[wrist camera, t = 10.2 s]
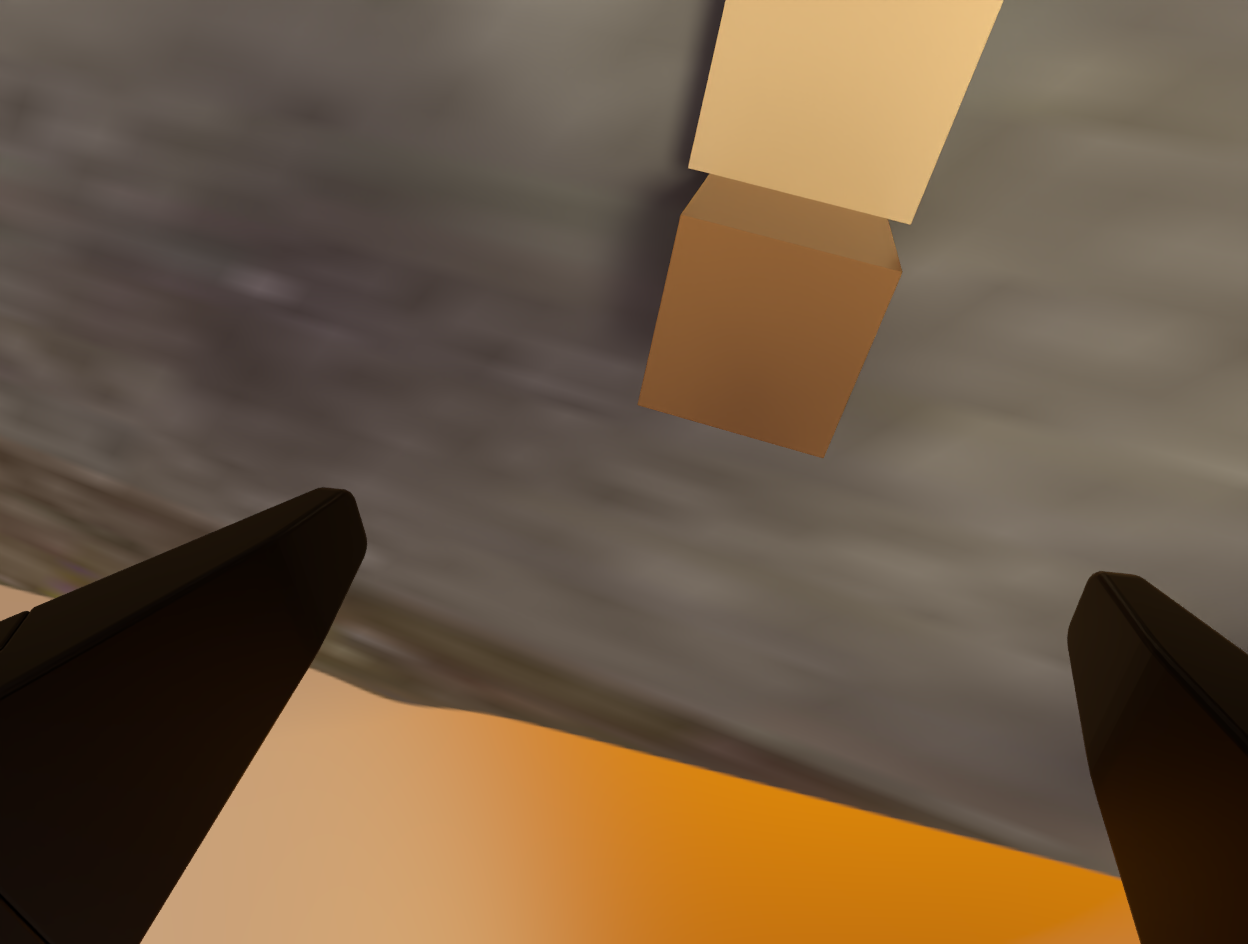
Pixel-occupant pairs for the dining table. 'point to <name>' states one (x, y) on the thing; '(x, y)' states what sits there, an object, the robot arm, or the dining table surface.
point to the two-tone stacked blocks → (803, 205)
